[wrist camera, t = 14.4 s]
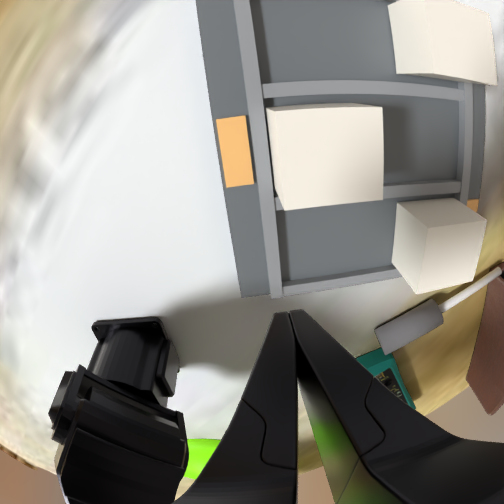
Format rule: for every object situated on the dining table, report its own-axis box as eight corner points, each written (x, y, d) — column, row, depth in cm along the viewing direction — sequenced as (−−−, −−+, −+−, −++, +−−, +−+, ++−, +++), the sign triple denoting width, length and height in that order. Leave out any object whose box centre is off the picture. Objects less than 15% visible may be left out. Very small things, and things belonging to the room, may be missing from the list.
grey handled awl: (372, 324, 25) (376, 336, 27) (383, 348, 23) (386, 359, 25) (493, 253, 23) (490, 269, 24) (509, 271, 21) (504, 287, 22)
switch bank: (241, 288, 23) (241, 303, 21) (196, -4, 13) (193, -13, 11) (460, 253, 23) (472, 264, 21) (466, 15, 13) (482, 13, 11)
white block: (391, 262, 21) (416, 294, 17) (396, 202, 19) (427, 227, 15) (444, 253, 21) (472, 280, 17) (453, 197, 19) (487, 220, 15)
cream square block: (396, 73, 15) (433, 73, 11) (387, 5, 12) (421, -9, 9) (457, 81, 15) (497, 86, 11) (450, 19, 12) (488, 13, 9)
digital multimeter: (384, 337, 27) (395, 359, 25) (410, 396, 34) (418, 413, 31) (318, 372, 29) (324, 395, 26) (361, 421, 35) (367, 438, 33)
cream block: (274, 185, 18) (284, 210, 14) (265, 107, 16) (274, 111, 12) (355, 177, 18) (382, 199, 14) (351, 102, 16) (382, 107, 12)
